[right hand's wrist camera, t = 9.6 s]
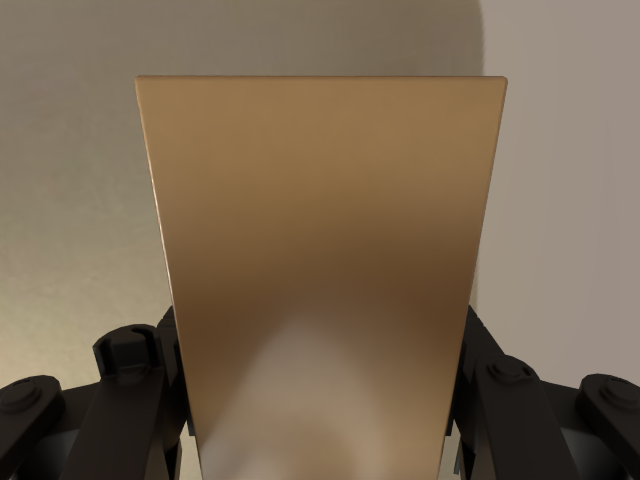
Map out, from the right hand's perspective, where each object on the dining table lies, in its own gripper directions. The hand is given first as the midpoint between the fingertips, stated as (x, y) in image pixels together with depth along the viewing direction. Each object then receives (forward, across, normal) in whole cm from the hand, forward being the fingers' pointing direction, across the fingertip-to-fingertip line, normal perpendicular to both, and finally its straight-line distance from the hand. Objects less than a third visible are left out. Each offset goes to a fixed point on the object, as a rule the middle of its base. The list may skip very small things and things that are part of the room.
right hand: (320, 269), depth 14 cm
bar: (+1, 0, -19) cm, 19 cm away
